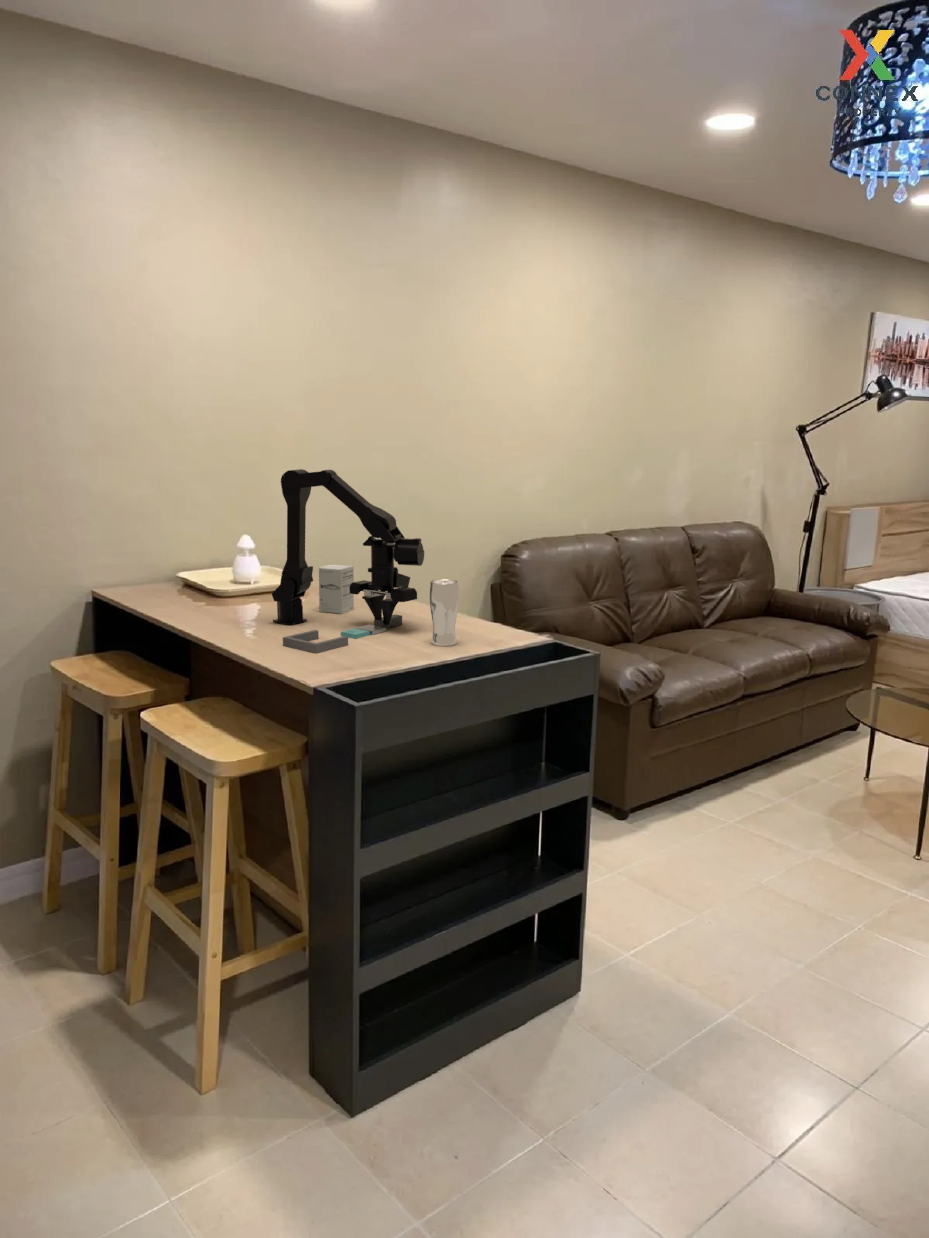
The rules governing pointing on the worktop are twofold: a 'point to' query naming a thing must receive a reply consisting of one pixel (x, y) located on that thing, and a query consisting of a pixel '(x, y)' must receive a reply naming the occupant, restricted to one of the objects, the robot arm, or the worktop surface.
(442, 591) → the beer glass
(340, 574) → the supplement box
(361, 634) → the tile
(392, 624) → the turner
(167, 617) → the worktop surface
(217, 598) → the worktop surface
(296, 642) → the corral
